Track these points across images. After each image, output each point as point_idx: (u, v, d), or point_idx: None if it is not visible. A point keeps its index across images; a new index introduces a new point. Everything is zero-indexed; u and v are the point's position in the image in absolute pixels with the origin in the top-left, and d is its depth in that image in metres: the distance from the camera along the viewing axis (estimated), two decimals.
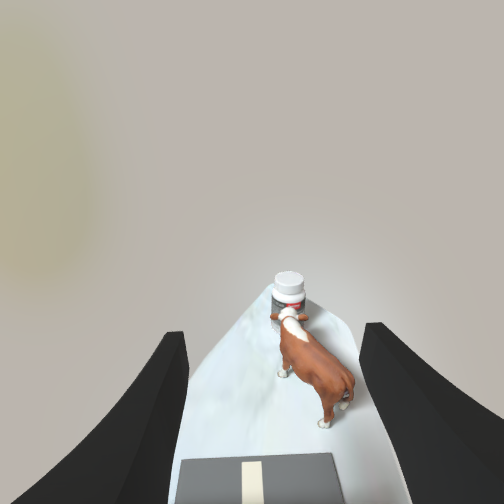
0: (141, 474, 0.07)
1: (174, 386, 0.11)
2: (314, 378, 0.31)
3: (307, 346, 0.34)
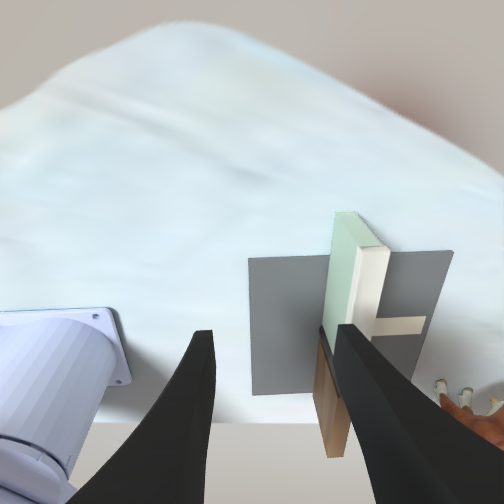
0: (188, 472, 0.08)
1: (207, 384, 0.11)
2: (498, 436, 0.24)
3: None
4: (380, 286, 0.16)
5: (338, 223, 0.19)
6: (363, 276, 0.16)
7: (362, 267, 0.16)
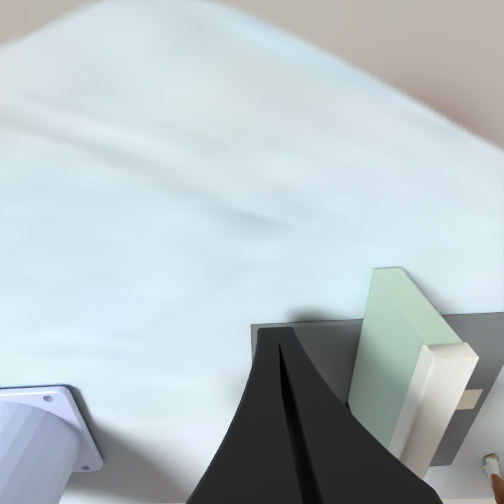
0: None
1: None
2: None
3: None
4: (455, 400, 0.10)
5: (378, 287, 0.13)
6: (431, 389, 0.10)
7: (431, 379, 0.10)
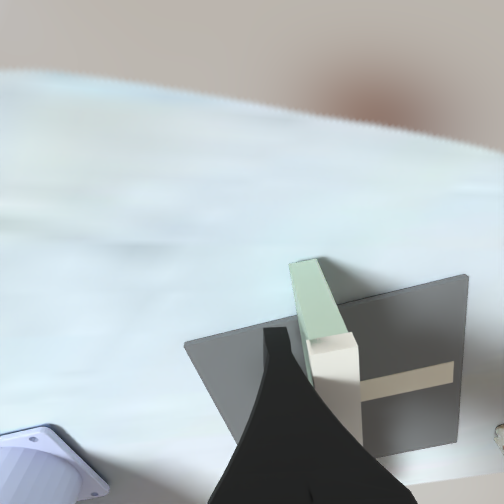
0: None
1: None
2: None
3: None
4: (356, 392, 0.10)
5: (292, 282, 0.13)
6: (324, 384, 0.10)
7: (318, 374, 0.10)
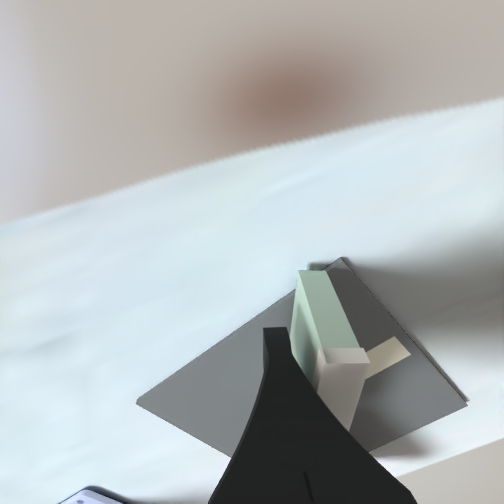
0: None
1: None
2: None
3: None
4: (352, 406, 0.10)
5: (300, 289, 0.13)
6: (326, 394, 0.10)
7: (324, 383, 0.10)
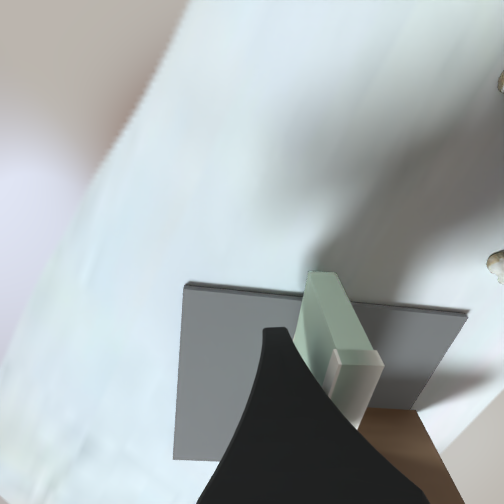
0: None
1: None
2: None
3: None
4: (362, 408, 0.10)
5: (310, 290, 0.13)
6: (338, 395, 0.10)
7: (337, 384, 0.10)
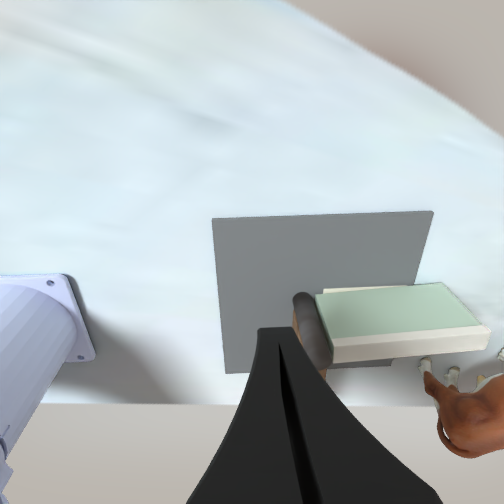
0: None
1: None
2: (483, 413, 0.22)
3: None
4: (451, 351, 0.19)
5: (442, 290, 0.22)
6: (466, 338, 0.18)
7: (475, 335, 0.18)
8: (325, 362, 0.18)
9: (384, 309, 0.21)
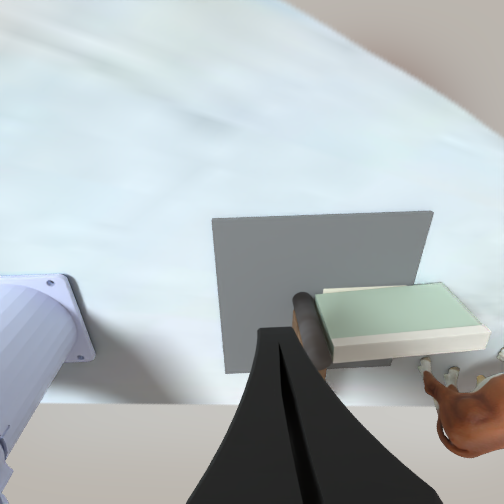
0: None
1: None
2: (482, 412, 0.22)
3: None
4: (451, 351, 0.19)
5: (442, 290, 0.22)
6: (465, 338, 0.18)
7: (475, 335, 0.18)
8: (325, 362, 0.18)
9: (384, 309, 0.21)
